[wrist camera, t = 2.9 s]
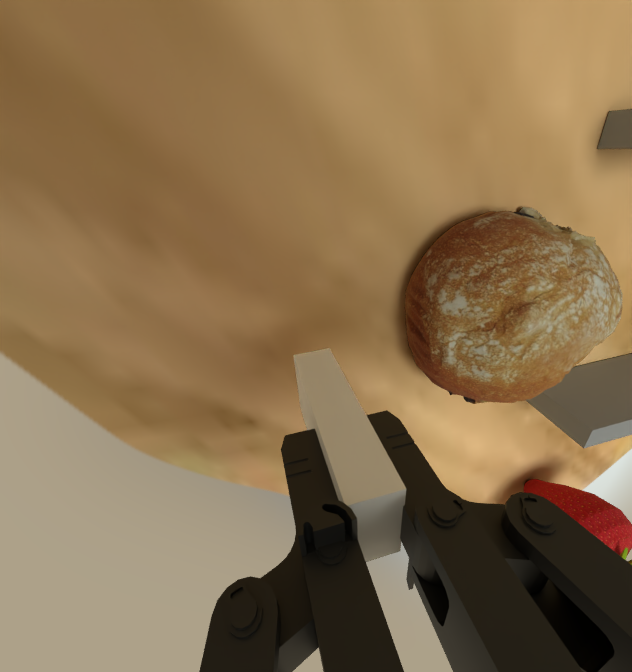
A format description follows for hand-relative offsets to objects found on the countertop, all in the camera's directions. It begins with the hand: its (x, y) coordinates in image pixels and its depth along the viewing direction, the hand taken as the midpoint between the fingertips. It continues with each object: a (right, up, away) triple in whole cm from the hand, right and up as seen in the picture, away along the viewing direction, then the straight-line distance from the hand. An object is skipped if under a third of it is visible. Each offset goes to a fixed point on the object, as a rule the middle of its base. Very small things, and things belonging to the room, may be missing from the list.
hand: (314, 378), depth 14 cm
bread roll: (+9, +4, +5) cm, 11 cm away
